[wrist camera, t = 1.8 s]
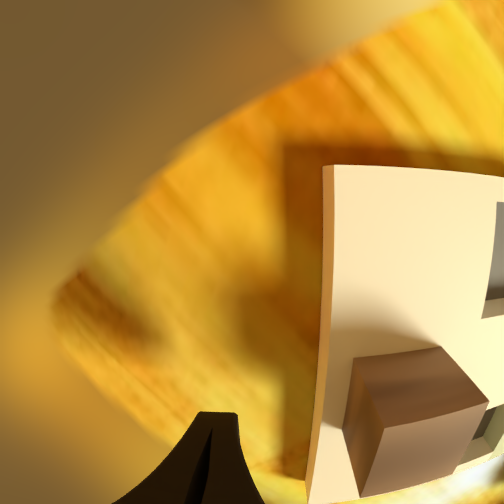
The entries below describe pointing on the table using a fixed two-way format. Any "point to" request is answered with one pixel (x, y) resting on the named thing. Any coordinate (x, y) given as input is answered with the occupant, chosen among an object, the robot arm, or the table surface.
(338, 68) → the table surface
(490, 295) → the board
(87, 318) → the table surface
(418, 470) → the walnut block
